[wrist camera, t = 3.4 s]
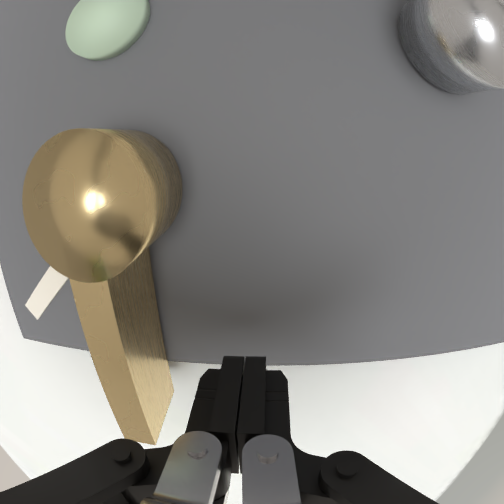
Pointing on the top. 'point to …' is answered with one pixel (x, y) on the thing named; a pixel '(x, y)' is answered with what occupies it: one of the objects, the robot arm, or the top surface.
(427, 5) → the chrome lever handle
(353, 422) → the top surface
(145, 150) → the brass door handle
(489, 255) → the board
